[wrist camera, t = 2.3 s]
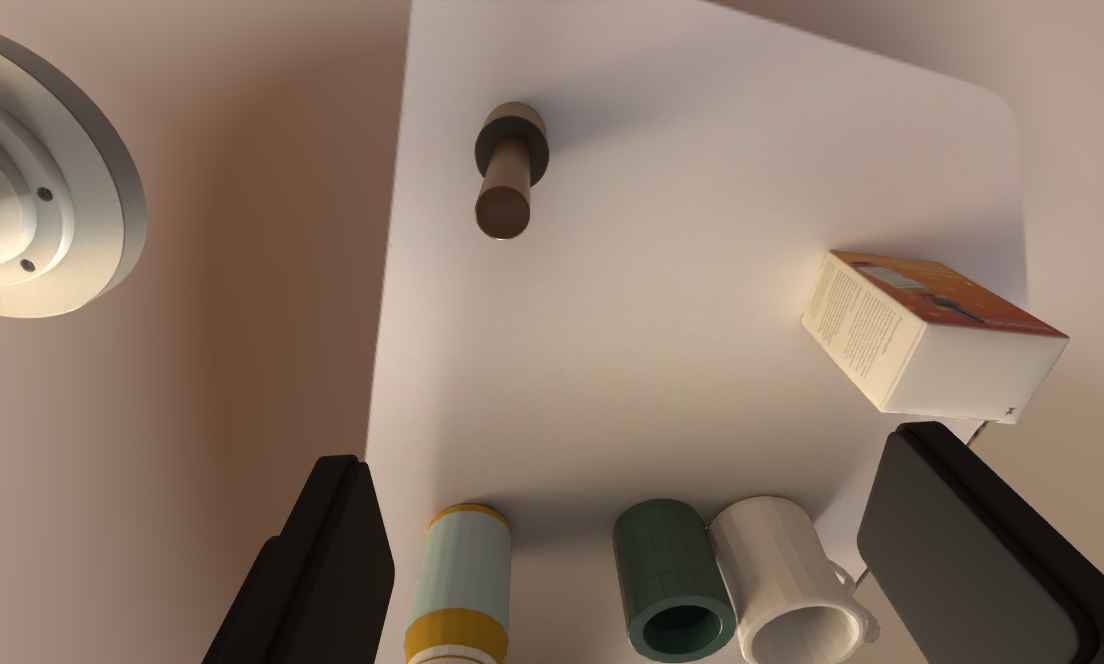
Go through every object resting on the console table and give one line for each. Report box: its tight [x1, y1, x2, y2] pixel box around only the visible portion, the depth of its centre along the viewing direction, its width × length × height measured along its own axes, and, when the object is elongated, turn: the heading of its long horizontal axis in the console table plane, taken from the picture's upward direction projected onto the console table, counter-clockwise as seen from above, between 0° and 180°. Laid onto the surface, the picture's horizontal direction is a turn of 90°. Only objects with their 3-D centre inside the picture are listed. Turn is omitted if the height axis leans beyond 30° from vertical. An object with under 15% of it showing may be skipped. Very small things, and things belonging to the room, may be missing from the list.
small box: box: [801, 250, 1070, 424], centre depth 33 cm, size 8×6×10 cm
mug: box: [707, 496, 880, 664], centre depth 44 cm, size 12×9×10 cm
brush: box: [475, 102, 549, 240], centre depth 25 cm, size 4×4×16 cm
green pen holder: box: [612, 499, 737, 663], centre depth 44 cm, size 8×8×9 cm
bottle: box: [404, 504, 512, 664], centre depth 40 cm, size 7×7×15 cm
